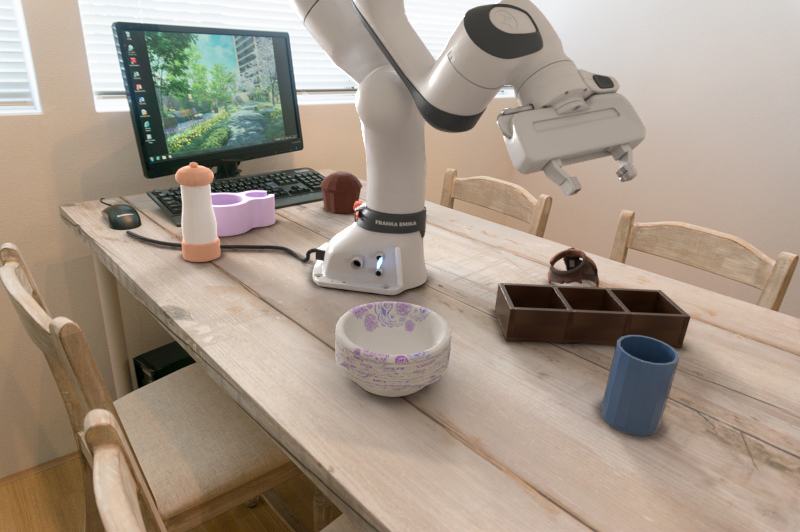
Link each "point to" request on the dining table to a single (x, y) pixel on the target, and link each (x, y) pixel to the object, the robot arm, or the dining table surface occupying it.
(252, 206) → the purple desk organizer
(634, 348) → the cup
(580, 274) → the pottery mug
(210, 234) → the pepper shaker
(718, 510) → the dining table surface
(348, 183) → the muffin
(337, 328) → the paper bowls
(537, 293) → the cup rack
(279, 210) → the dining table surface
